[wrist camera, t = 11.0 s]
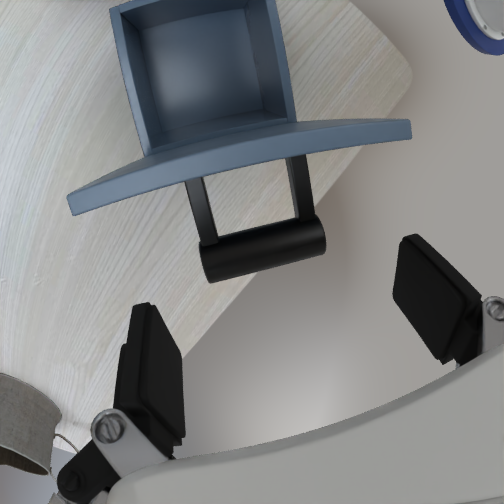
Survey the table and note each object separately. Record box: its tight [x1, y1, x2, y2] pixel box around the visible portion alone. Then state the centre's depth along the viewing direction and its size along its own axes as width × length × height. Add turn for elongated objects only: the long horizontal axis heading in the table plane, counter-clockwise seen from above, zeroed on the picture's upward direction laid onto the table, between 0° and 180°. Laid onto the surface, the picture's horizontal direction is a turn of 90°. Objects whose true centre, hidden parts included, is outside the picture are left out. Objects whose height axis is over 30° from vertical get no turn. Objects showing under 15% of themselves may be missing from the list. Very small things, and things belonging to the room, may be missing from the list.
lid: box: [67, 119, 412, 283], centre depth 17 cm, size 14×13×5 cm
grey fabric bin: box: [0, 374, 79, 482], centre depth 42 cm, size 23×32×25 cm
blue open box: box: [109, 0, 297, 157], centre depth 23 cm, size 14×13×10 cm
